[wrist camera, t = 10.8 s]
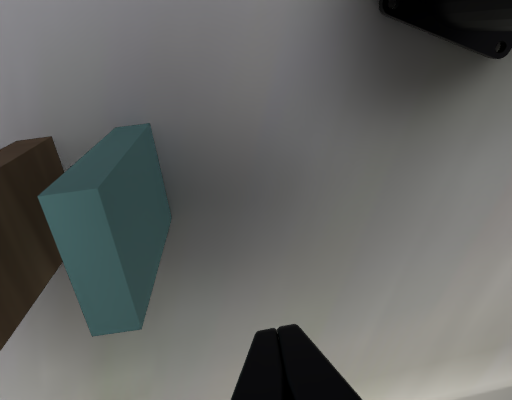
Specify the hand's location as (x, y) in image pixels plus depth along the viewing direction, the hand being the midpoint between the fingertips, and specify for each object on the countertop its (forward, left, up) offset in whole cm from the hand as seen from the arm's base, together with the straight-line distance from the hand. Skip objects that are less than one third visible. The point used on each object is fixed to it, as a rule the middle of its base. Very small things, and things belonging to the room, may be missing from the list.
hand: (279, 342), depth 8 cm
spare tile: (+5, +2, -12) cm, 13 cm away
